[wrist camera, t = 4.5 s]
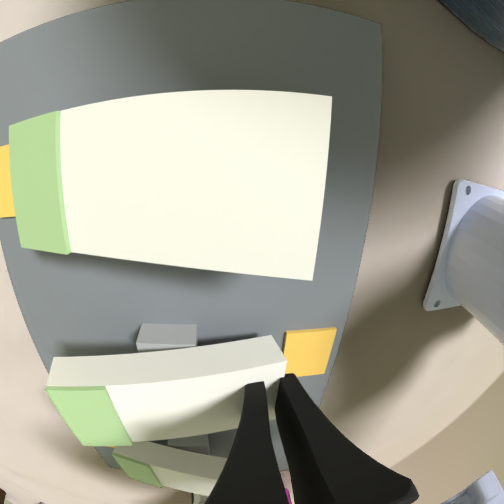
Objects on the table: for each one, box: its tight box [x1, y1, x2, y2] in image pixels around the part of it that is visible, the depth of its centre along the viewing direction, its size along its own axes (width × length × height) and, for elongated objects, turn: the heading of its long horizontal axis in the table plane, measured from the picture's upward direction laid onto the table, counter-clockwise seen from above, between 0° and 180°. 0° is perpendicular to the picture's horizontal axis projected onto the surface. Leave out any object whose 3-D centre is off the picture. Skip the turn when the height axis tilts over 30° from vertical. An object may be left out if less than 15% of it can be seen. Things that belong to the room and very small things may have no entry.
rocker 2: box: [45, 335, 287, 446], centre depth 10 cm, size 9×4×2 cm, turn 87°
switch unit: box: [0, 0, 383, 471], centre depth 13 cm, size 16×30×3 cm, turn 177°
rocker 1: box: [9, 90, 332, 281], centre depth 7 cm, size 9×4×2 cm, turn 87°
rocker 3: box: [112, 441, 227, 496], centre depth 13 cm, size 9×4×2 cm, turn 87°
